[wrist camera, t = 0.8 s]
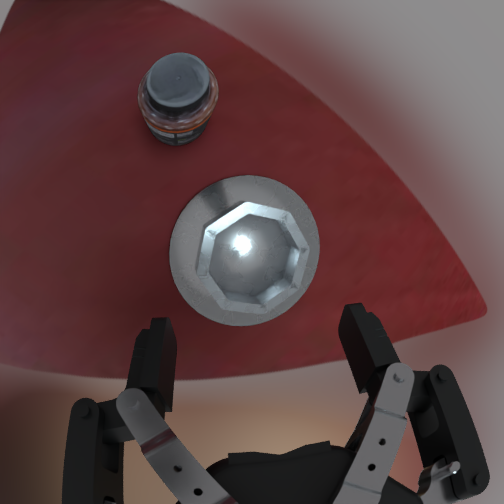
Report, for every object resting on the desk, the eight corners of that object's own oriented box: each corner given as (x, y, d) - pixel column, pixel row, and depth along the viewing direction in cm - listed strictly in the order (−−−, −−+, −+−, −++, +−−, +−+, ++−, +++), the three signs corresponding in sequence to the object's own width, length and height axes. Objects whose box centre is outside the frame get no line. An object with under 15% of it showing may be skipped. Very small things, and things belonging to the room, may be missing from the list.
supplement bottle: (181, 80, 24) (186, 24, 13) (219, 119, 26) (246, 81, 15) (135, 119, 24) (112, 79, 13) (175, 159, 26) (173, 141, 15)
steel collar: (159, 312, 29) (158, 327, 26) (187, 160, 26) (188, 156, 23) (294, 327, 34) (306, 340, 30) (329, 196, 31) (346, 198, 28)
